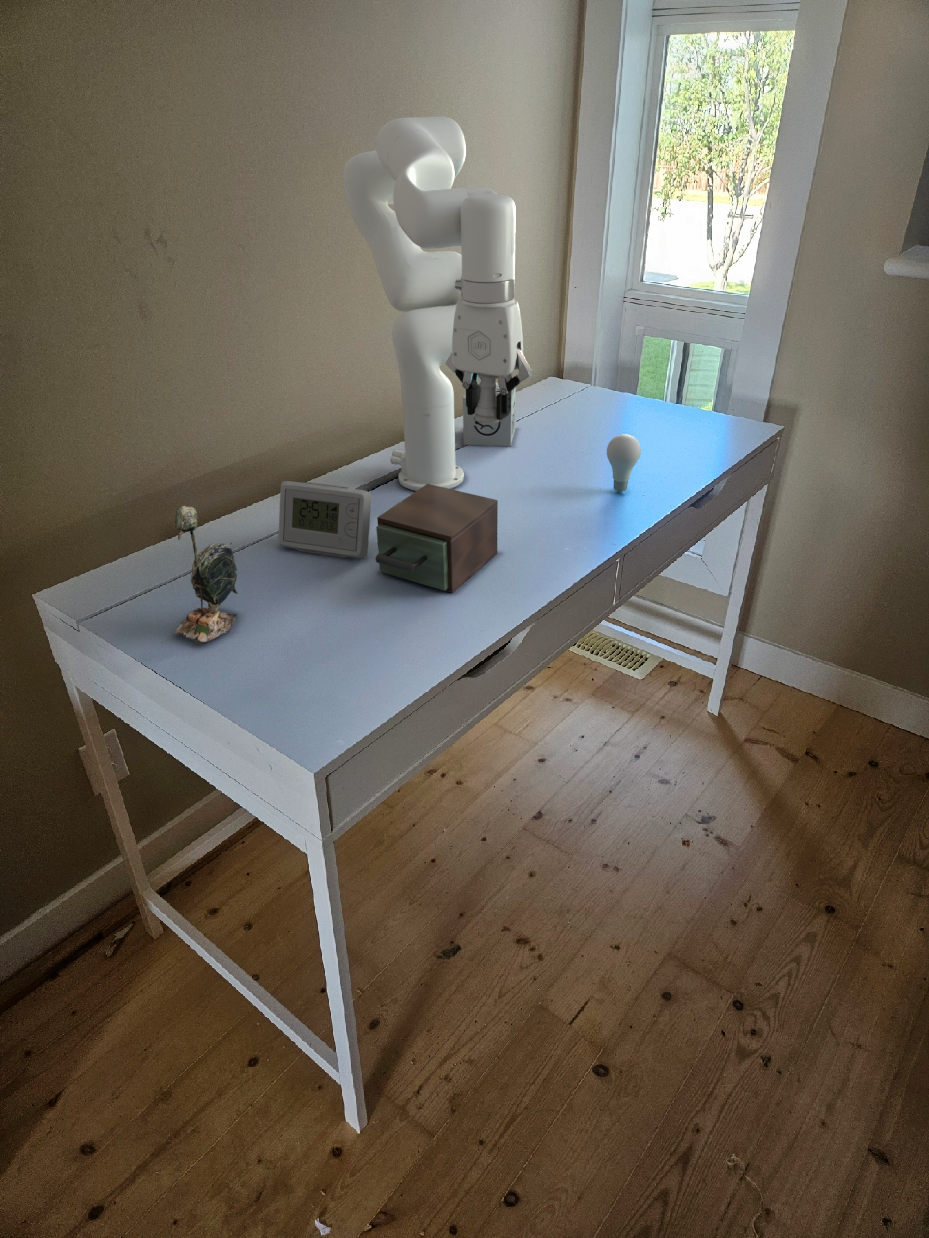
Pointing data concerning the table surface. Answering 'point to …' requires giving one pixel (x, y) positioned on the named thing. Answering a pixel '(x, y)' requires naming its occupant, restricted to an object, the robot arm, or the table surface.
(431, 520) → the cabinet
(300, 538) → the digital clock
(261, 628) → the table surface
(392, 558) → the drawer
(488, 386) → the rook chess piece
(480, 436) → the icon cube
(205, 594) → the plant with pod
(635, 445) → the lightbulb
